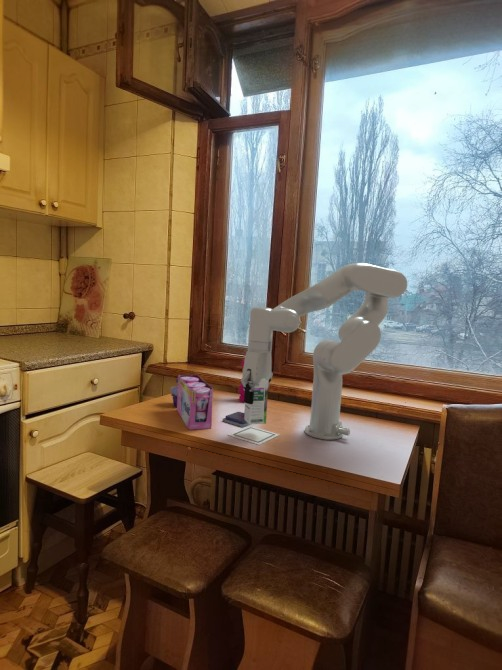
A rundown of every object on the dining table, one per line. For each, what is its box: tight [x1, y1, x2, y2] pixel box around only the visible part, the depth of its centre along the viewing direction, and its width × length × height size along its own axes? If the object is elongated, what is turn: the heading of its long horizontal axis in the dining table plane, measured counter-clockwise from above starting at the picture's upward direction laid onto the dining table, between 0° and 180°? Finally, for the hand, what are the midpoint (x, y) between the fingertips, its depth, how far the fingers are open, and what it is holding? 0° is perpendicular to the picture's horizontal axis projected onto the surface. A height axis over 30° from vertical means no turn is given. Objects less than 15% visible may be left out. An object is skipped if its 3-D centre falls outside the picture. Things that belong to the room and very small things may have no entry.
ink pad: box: [222, 411, 250, 428], centre depth 144 cm, size 9×9×2 cm
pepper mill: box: [238, 358, 245, 404], centre depth 171 cm, size 7×7×20 cm
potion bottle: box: [170, 374, 180, 408], centre depth 159 cm, size 9×9×12 cm
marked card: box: [228, 425, 280, 446], centre depth 131 cm, size 12×12×1 cm
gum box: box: [176, 374, 214, 431], centre depth 143 cm, size 24×8×14 cm, turn 21°
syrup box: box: [244, 378, 269, 426], centre depth 130 cm, size 6×6×14 cm
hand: (256, 400), depth 130 cm, fingers closed on syrup box, 7 cm apart
